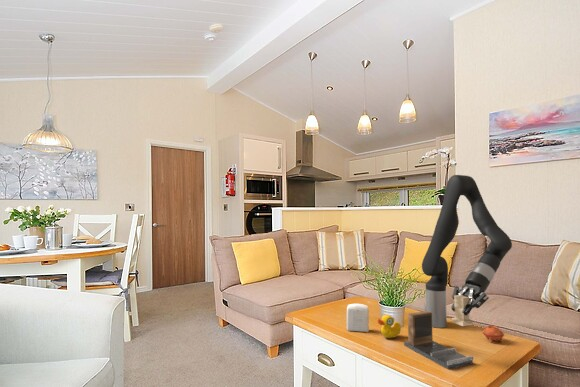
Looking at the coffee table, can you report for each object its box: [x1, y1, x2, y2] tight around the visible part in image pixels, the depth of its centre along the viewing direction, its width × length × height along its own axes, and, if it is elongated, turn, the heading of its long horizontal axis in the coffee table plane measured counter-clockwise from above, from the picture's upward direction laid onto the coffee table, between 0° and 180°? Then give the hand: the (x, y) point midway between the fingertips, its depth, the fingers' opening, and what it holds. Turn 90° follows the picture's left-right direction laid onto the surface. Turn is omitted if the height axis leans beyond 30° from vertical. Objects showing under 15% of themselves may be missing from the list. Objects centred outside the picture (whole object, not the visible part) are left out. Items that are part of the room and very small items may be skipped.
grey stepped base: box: [403, 340, 474, 370], centre depth 135 cm, size 23×12×3 cm, turn 22°
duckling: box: [377, 314, 401, 339], centre depth 152 cm, size 11×5×10 cm, turn 109°
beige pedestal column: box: [451, 295, 473, 327], centre depth 130 cm, size 5×5×10 cm
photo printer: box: [346, 303, 370, 333], centre depth 162 cm, size 10×4×12 cm, turn 81°
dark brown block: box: [407, 310, 434, 345], centre depth 143 cm, size 4×10×12 cm, turn 112°
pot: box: [482, 325, 505, 344], centre depth 148 cm, size 8×8×7 cm
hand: (458, 312), depth 130 cm, fingers closed on beige pedestal column, 4 cm apart
